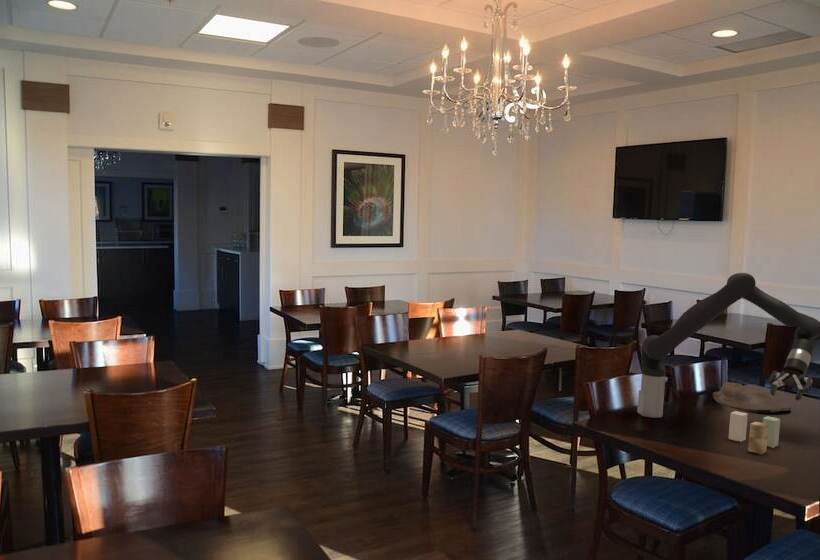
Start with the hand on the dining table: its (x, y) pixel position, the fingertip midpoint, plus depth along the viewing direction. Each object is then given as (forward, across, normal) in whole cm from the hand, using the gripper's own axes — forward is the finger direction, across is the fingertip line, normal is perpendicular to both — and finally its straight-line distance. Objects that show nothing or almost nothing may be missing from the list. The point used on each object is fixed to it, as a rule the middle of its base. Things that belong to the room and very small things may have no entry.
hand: (784, 396), depth 261 cm
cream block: (+22, -10, +1) cm, 24 cm away
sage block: (+20, 0, +3) cm, 20 cm away
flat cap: (-18, -27, +43) cm, 54 cm away
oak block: (+28, 0, -5) cm, 28 cm away
